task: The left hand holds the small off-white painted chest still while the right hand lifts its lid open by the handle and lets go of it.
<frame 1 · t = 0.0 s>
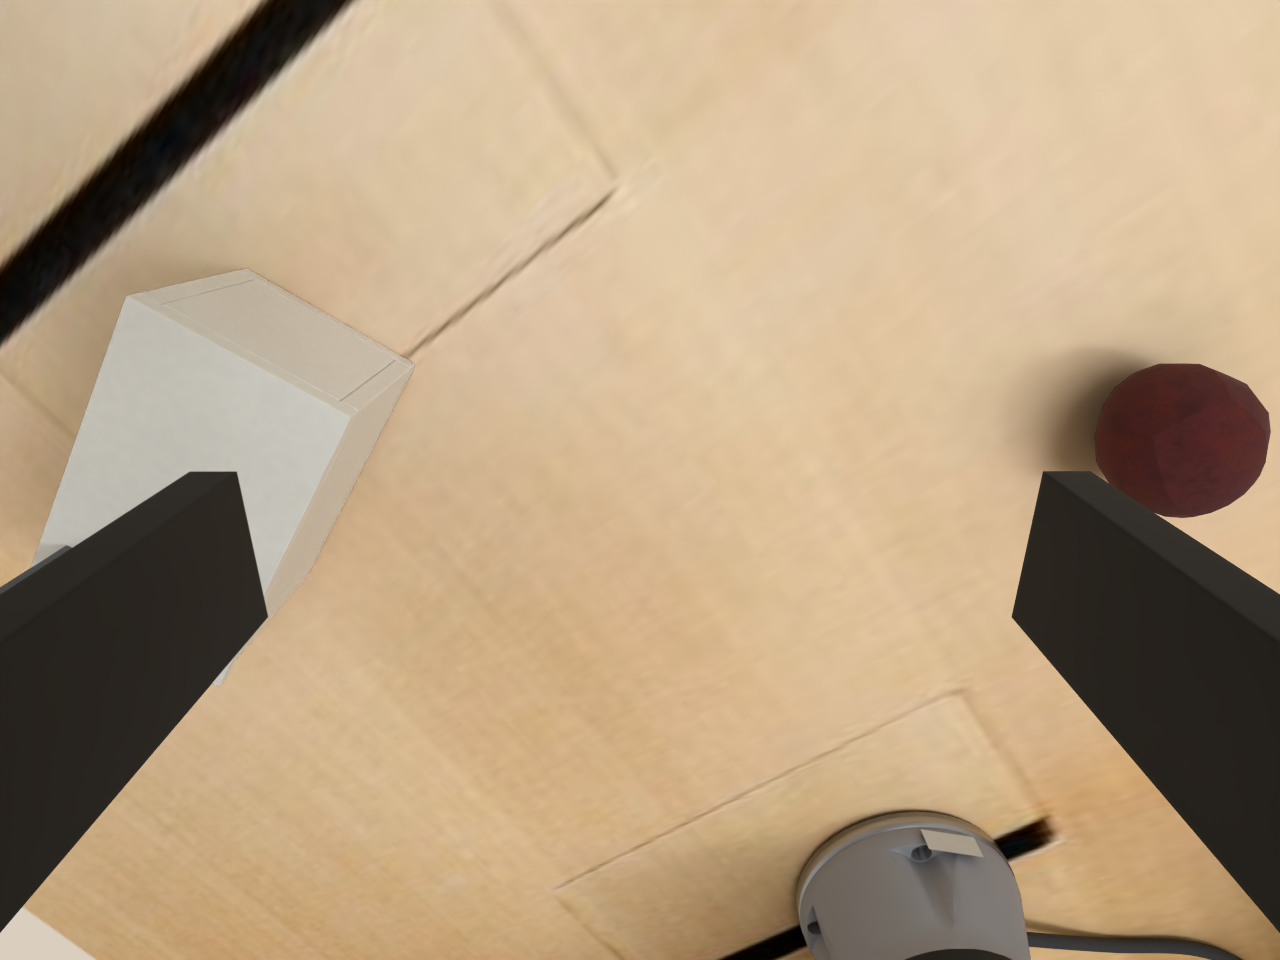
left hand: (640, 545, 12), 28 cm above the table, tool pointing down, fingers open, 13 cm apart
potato: (1133, 416, 41), on the table
lid: (124, 549, 29), point 13 cm above the table, hinge at 0.0°
chest: (279, 433, 41), on the table
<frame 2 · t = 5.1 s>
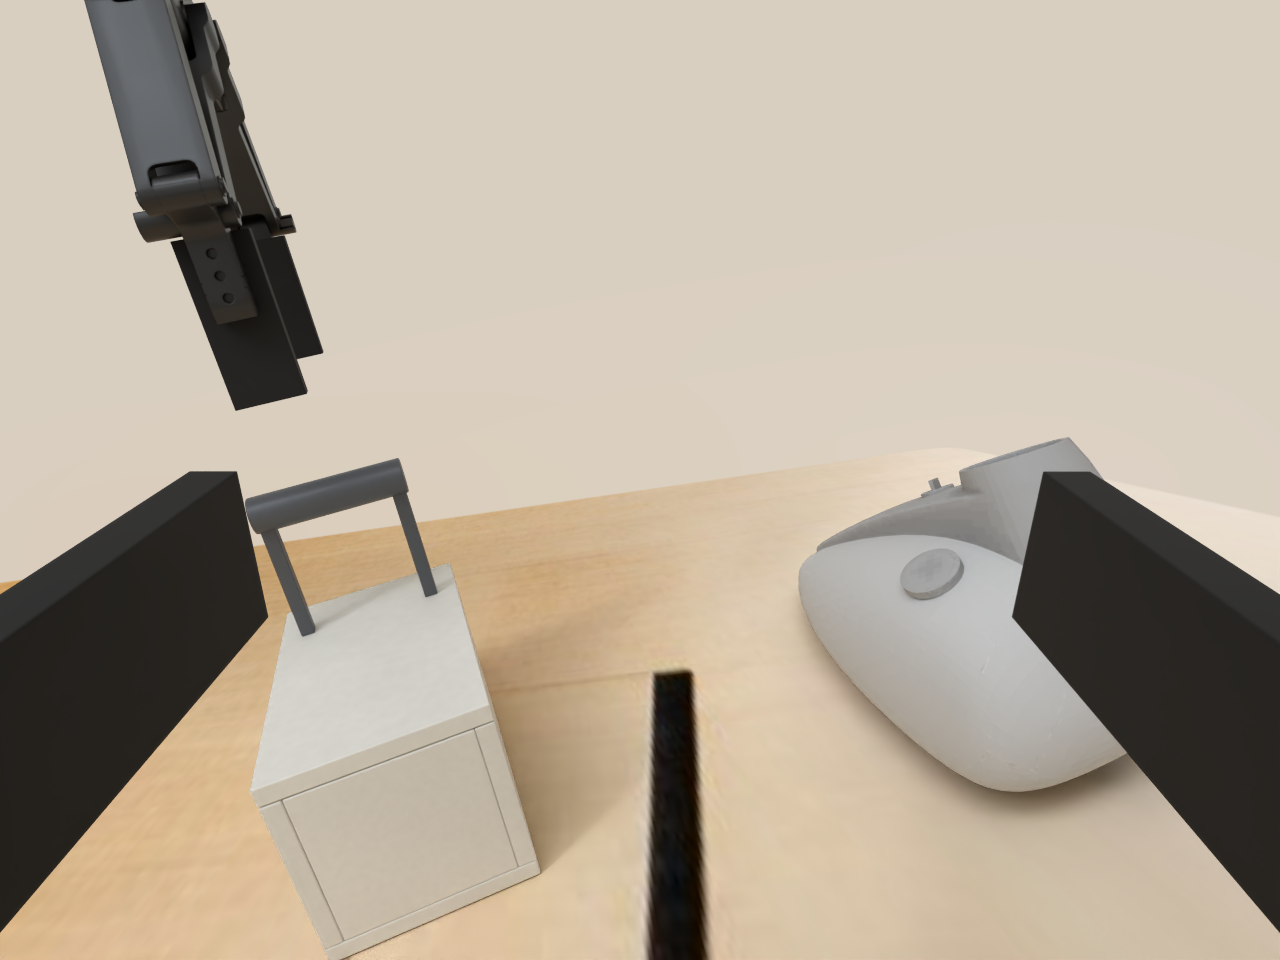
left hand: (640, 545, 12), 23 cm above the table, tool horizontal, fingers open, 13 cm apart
lid: (349, 588, 36), point 13 cm above the table, hinge at 0.0°
chest: (426, 805, 40), on the table
projector: (958, 667, 43), on the table
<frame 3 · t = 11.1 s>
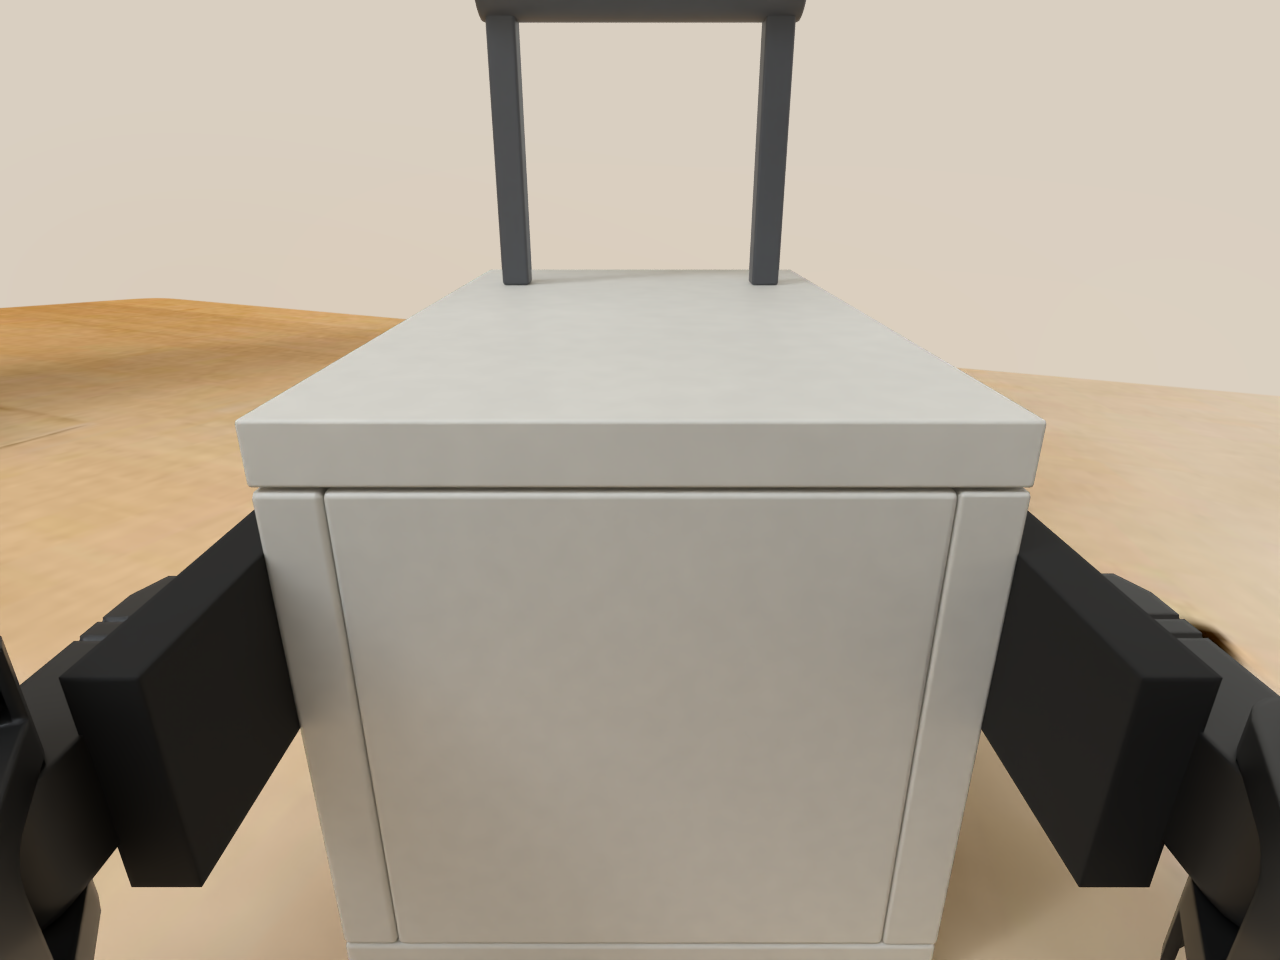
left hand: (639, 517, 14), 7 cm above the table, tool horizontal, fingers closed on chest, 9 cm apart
lid: (640, 126, 15), point 13 cm above the table, hinge at 0.0°
chest: (640, 692, 19), on the table, touching left hand
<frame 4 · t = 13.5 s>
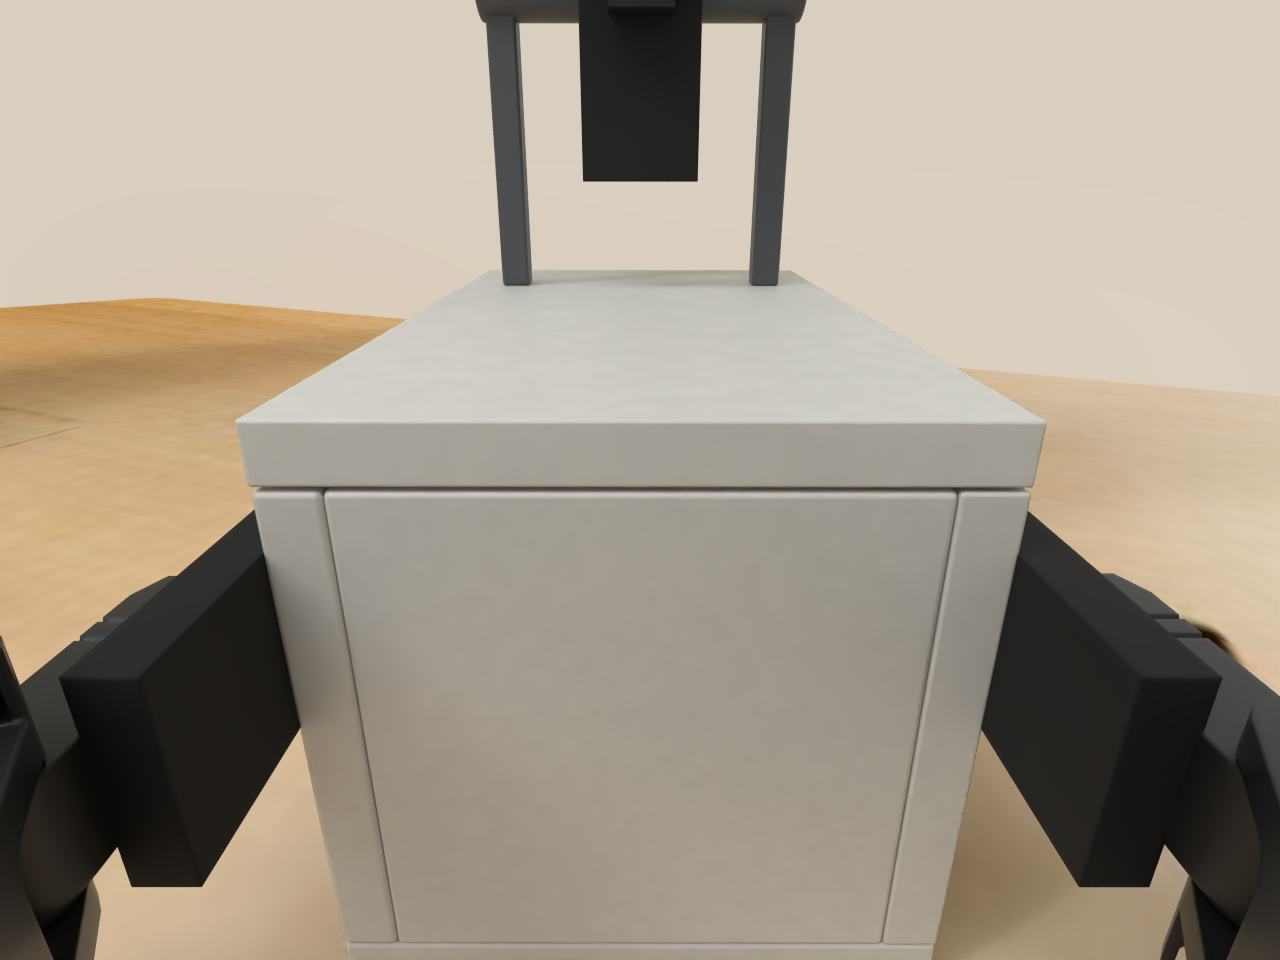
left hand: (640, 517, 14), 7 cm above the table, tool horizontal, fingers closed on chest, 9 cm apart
lid: (640, 127, 15), point 13 cm above the table, hinge at -0.1°, touching right hand
chest: (640, 691, 19), on the table, touching left hand
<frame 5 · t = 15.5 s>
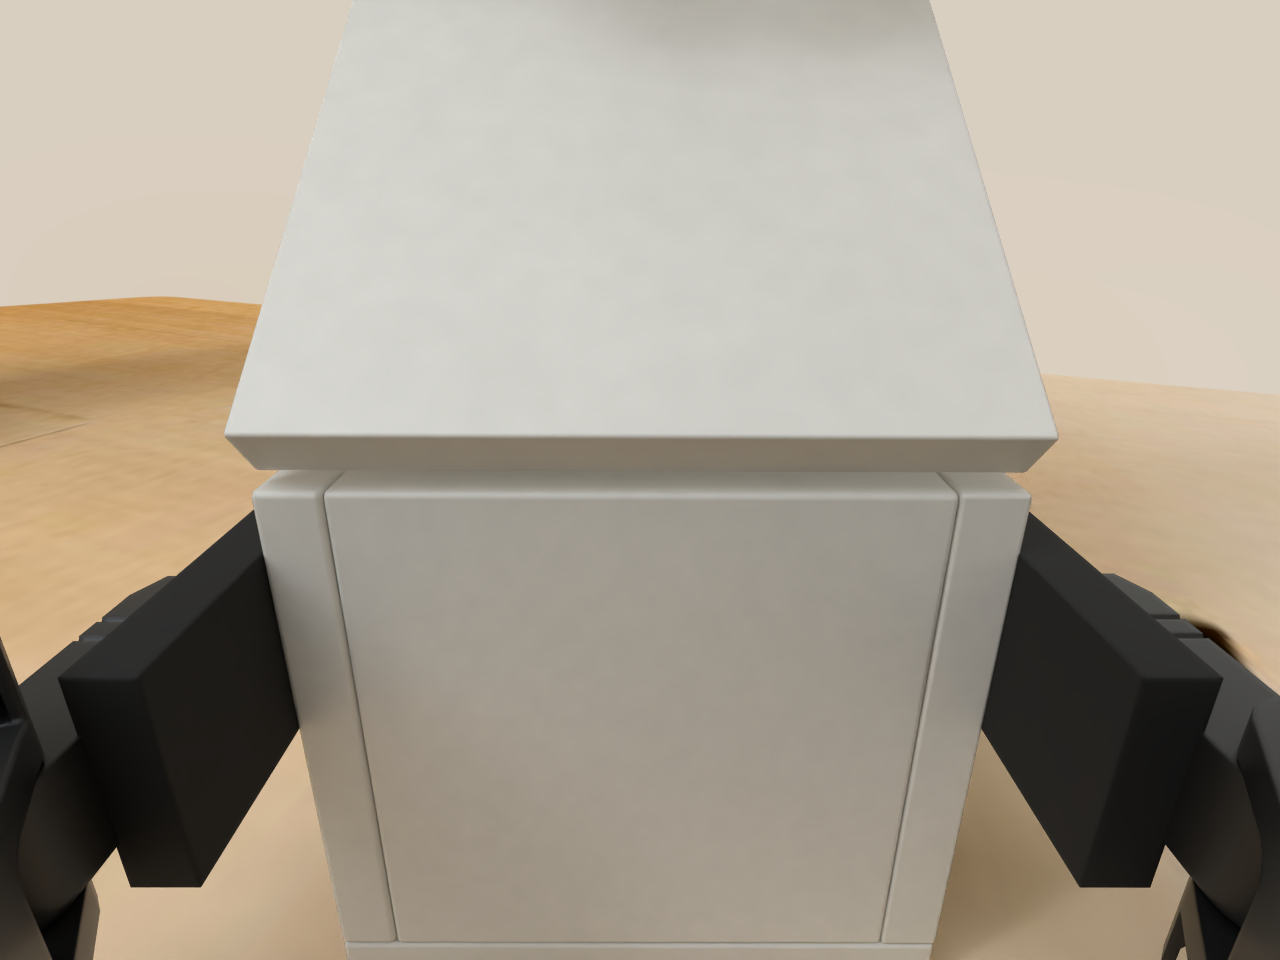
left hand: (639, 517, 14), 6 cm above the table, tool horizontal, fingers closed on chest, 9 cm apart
chest: (638, 690, 19), on the table, touching left hand
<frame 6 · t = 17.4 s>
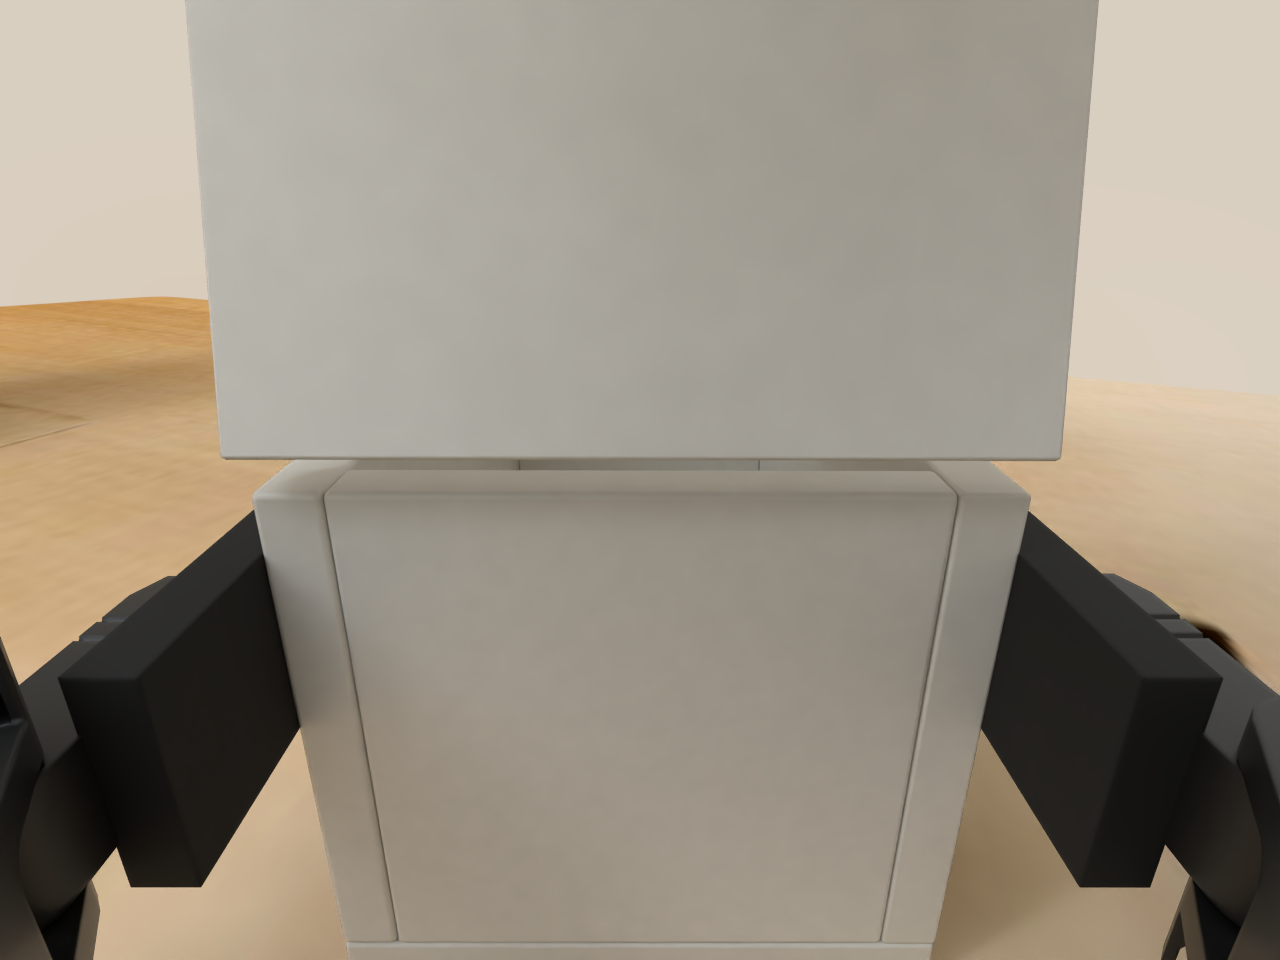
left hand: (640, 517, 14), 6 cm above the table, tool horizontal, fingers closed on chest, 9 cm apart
chest: (639, 690, 19), on the table, touching left hand
when the left hand's fingers open (7 cm above the table, at t = 21.1 s): chest stays where it is, on the table.
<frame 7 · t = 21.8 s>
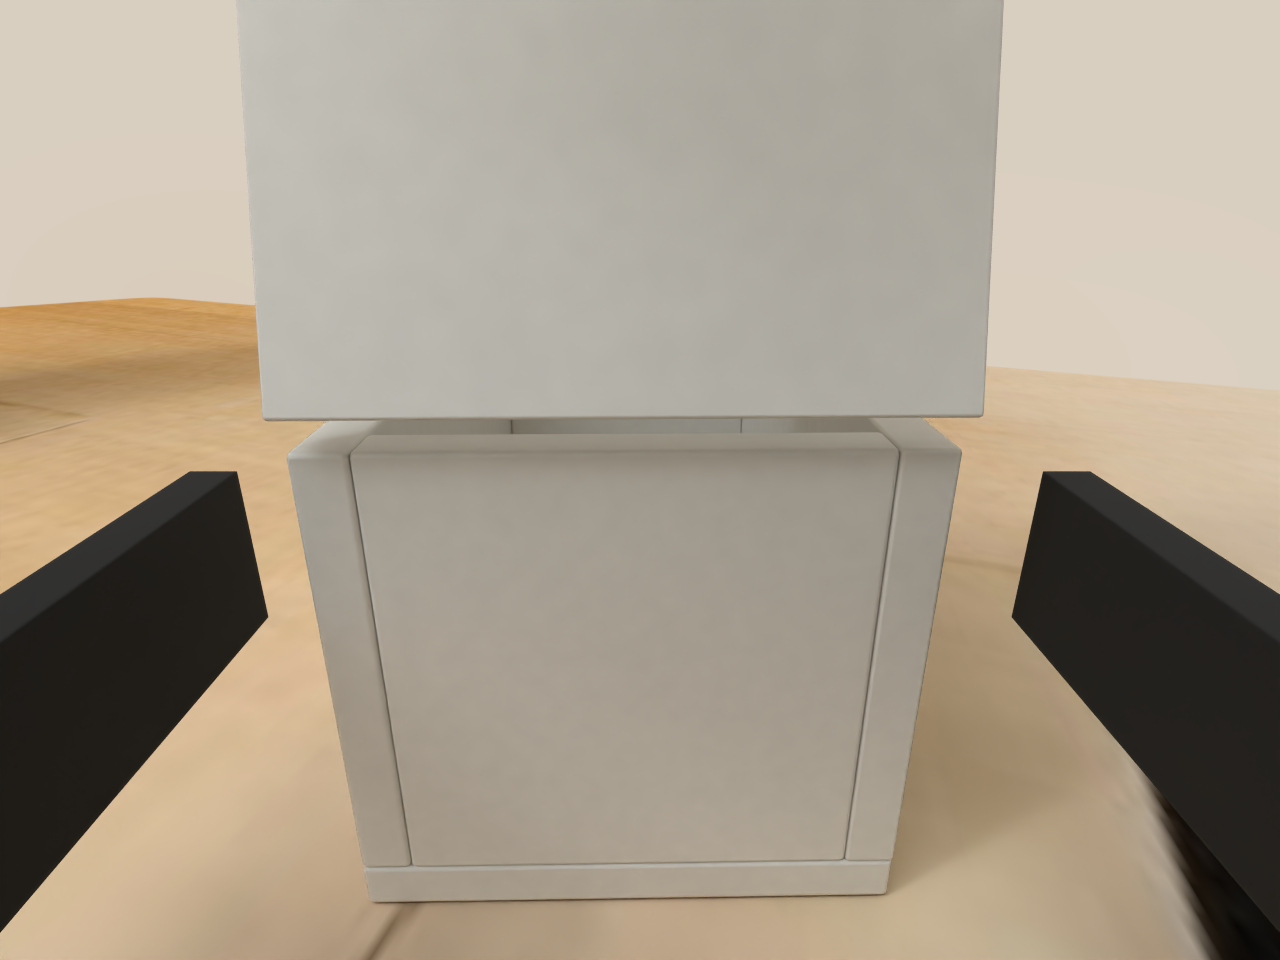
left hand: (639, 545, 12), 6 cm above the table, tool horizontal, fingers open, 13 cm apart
chest: (628, 656, 21), on the table
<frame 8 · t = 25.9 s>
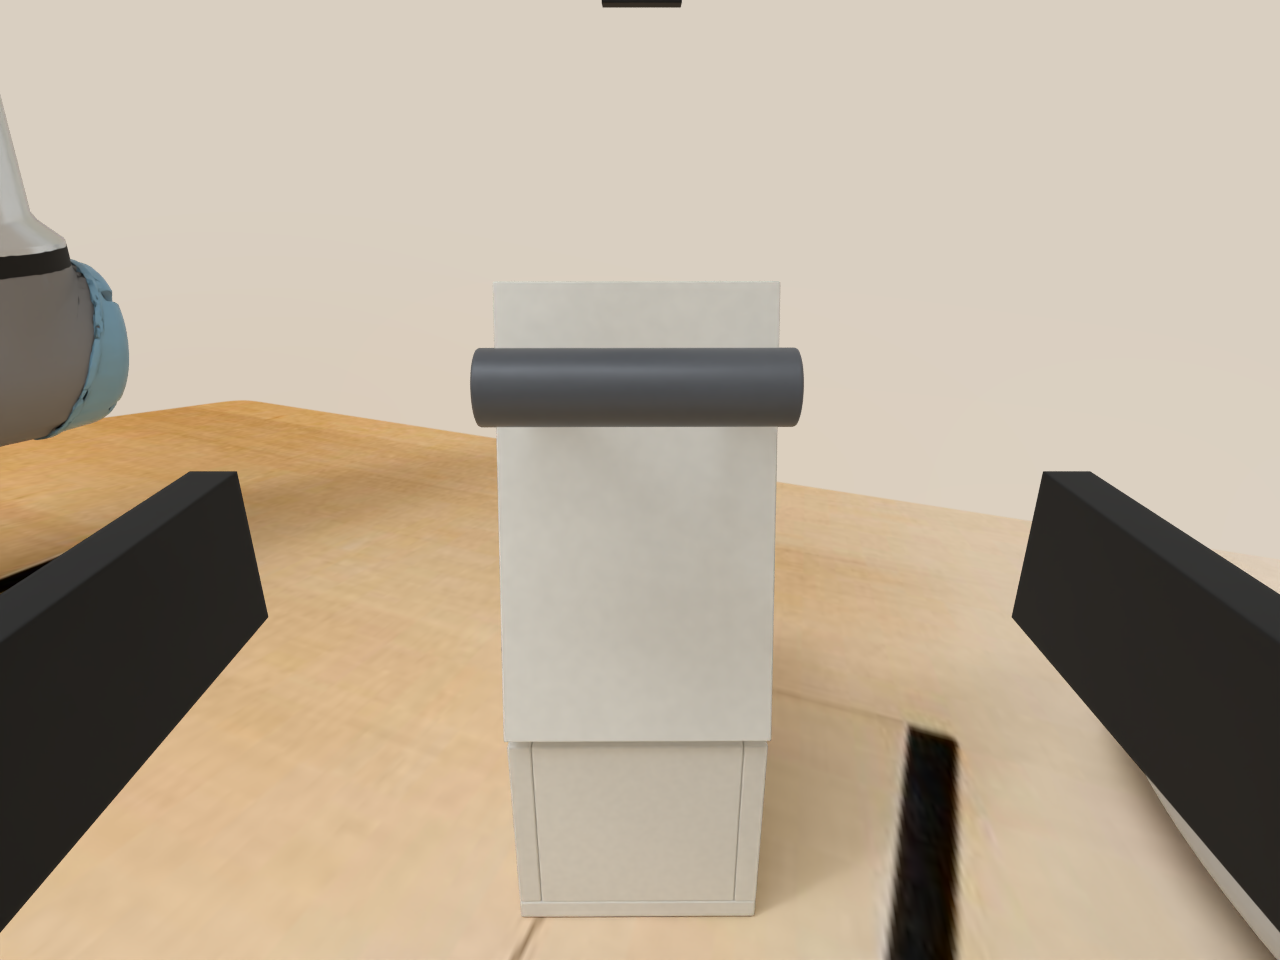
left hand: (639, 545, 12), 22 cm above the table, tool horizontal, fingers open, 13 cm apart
lid: (637, 541, 22), point 18 cm above the table, hinge at 74.8°
chest: (637, 779, 37), on the table
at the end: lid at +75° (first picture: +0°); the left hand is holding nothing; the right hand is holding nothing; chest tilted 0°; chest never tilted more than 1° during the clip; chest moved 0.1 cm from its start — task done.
